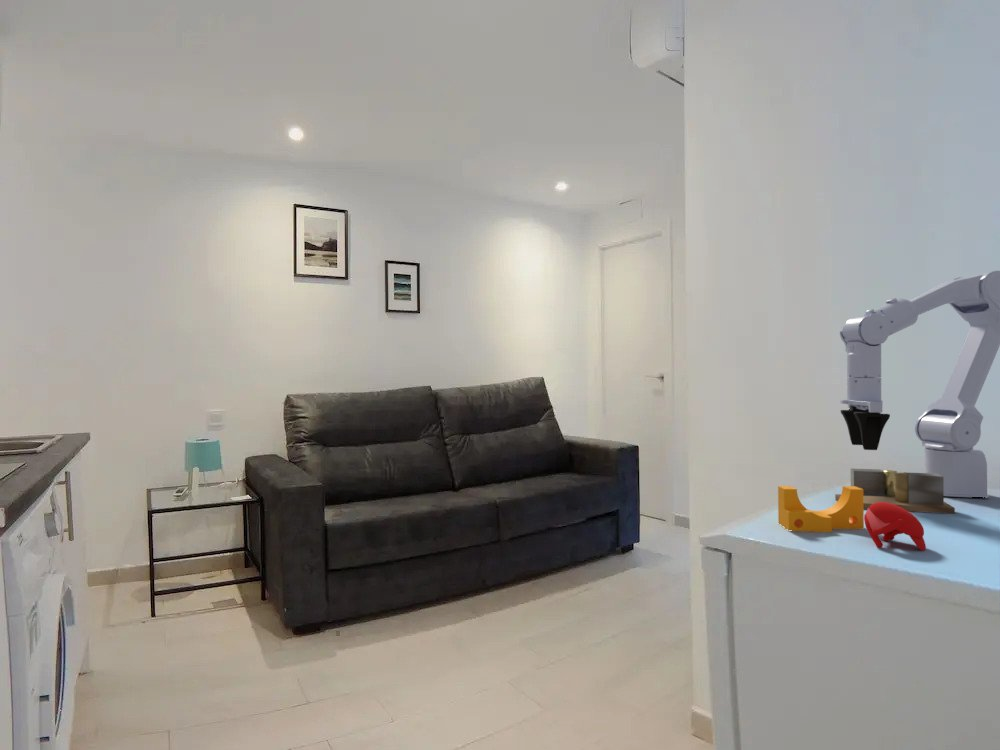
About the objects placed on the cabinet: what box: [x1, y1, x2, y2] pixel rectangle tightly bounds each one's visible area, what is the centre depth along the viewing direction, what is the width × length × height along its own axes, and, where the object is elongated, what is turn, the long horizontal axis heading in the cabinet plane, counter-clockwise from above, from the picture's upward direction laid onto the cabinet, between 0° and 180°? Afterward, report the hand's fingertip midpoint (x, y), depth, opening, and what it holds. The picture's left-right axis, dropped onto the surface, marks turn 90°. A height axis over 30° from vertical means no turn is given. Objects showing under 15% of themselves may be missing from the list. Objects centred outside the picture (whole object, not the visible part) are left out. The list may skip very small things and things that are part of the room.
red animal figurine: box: [864, 502, 927, 552], centre depth 86 cm, size 8×6×6 cm
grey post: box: [850, 468, 898, 497], centre depth 118 cm, size 8×3×5 cm, turn 70°
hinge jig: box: [834, 472, 956, 514], centre depth 109 cm, size 17×7×6 cm, turn 70°
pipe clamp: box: [777, 485, 865, 533], centre depth 96 cm, size 12×4×6 cm, turn 85°
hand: (864, 447), depth 118 cm, fingers open, 7 cm apart
